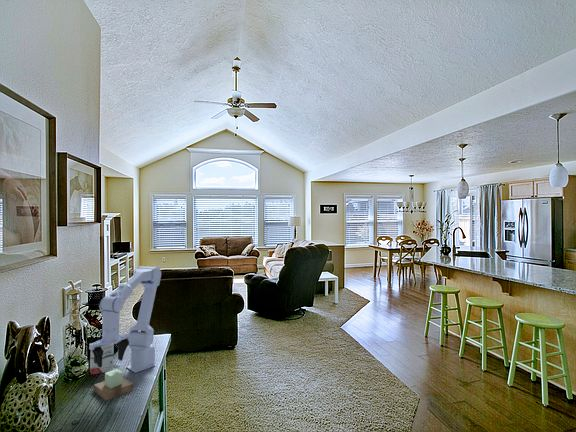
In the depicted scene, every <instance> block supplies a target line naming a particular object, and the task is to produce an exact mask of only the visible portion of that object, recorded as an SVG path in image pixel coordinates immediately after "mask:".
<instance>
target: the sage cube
mask: <svg viewBox="0 0 576 432" xmlns="http://www.w3.org/2000/svg"><path fill="white" fill-rule="evenodd" d="M123 375H124V372H123V371H122V370H120V369H118V368H115V369H113V370H112V371H108V372H104V381H105V385H106V386H107V387H109V388H113V387H116V386H118V385H121V384H123V377H124V376H123Z"/></svg>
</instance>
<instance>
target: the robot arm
mask: <svg viewBox="0 0 576 432" xmlns="http://www.w3.org/2000/svg"><path fill="white" fill-rule="evenodd" d="M133 272H134V273H133V275H132V276H131V277H130V279H128V281H127V282H126V283H120V284H119V286H118V287H117V288H116V289H115V290H114V291H113V292H112V293H111V294H110V295H106V296H104V297H102V299H101V300H100V302H99V305H98V308H99V310H100V315H101V316H102V329H101V330H102V337H101V339H98V340H96V341H94V342H92V343H89V344H88V345H89V347H88V349H89V350H90V351H91V350H92V352H93V354H94V356H95V358H96V361H97V366H98V367H102V356H103V350H102V348H101V347H103V346H106V345H110V344H114V345H115V344H117V359H118V360H119V361H123V359H124V355H125V352H126V350H127V348H128V346H129V349H130V364H128V365H126V368H127V369H128V370H130V371H131V372H133V373H135V374H137V373H139V372H141V371H142V372H143V371H144V370H145V371H146V370H148V369H150V368H153V367H155V366H156V365H157V364H155V363H156V362H155V361H156V360H155V359H156V349H155V346H154V344H153V342H154V332H155V330H154V328H153V327H152V326H151V325H150V321H151V317H152V312H153V308H154V302H155V299H156V294H157V293H156V292H157V288H158V286H160V283H161V278H162V270H161V268H160V267H159V266H143V265H139V266H137V267H136V268H135V269H134V271H133ZM138 285H142V286H143V288H144V290H143V295H142V298H141V302H140V307H139V312H138V317H137V321H136V324H134V325H132V326H131V327H130V329H129V332H128V333H123V334H120V317H121V316H120V315H121V314H120V312H121V311H122V309H123V307H124V304H125V303H126V300H128V299H129V297H131V295H133V289H135V288H136V287H137V286H138Z"/></svg>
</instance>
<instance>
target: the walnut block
mask: <svg viewBox="0 0 576 432" xmlns="http://www.w3.org/2000/svg"><path fill="white" fill-rule="evenodd" d="M133 390H134V383H133V382H132V381H130V380H129V379H128V378H126V377H124V376H123V384H121V385H118V386H116V387H113V388H109V387H107V386H106V385H105V380H103V381H101V382H98V383H95V384H93V392H94V393H95V394H96V395H98V396H99V397H100V398H101V399H103V400H104V401H105V402H106V401H109V400H111V399H114V398H116V397H118V396H119V397H120V396H121V395H123V394H124V395H125V394H126V392H127V393H129V392H131V391H133Z"/></svg>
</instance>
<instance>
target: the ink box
mask: <svg viewBox="0 0 576 432" xmlns="http://www.w3.org/2000/svg"><path fill="white" fill-rule="evenodd" d="M101 348H102V350H103V356H102V367H98V366H97V361H96V358H95V356H94V354H93V352H92V350H90V356H89V372H90V373H91V374H90V375H91V376H93V375H98V374H103V373H106V372H109V371H112V370H114V360H115V359H114V353H115V352H114V349H115V344H110V345H106V346H103V347H101ZM92 374H93V375H92Z"/></svg>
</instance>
